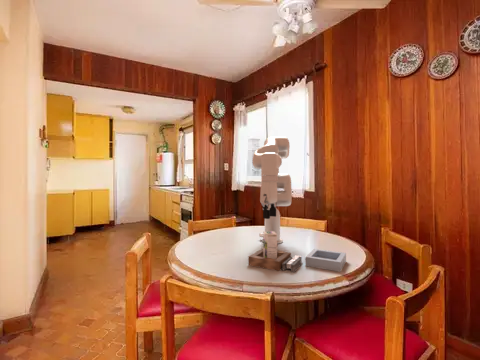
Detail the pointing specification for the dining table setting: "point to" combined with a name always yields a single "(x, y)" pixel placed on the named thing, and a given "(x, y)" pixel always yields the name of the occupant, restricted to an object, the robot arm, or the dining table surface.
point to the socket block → (273, 261)
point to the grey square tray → (326, 259)
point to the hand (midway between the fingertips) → (269, 217)
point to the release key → (293, 261)
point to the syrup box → (270, 244)
